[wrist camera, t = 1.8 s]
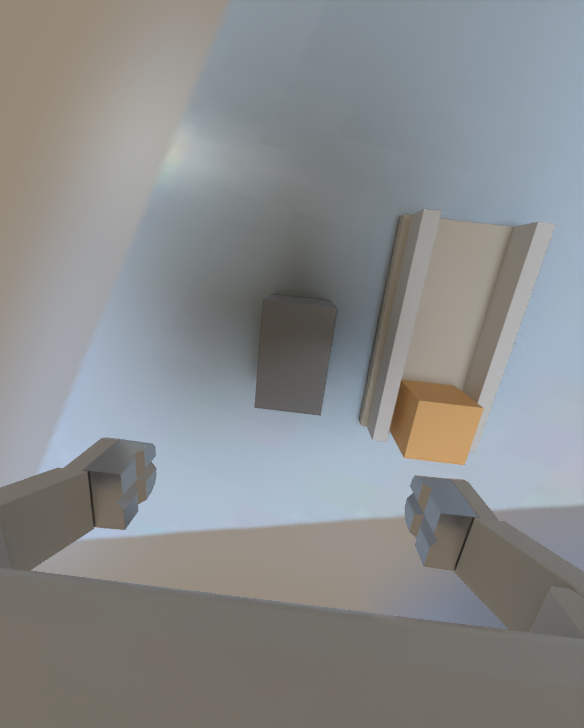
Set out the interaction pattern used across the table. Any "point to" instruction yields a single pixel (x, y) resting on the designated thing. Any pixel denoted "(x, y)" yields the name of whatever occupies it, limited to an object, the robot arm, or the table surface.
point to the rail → (448, 331)
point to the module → (294, 353)
